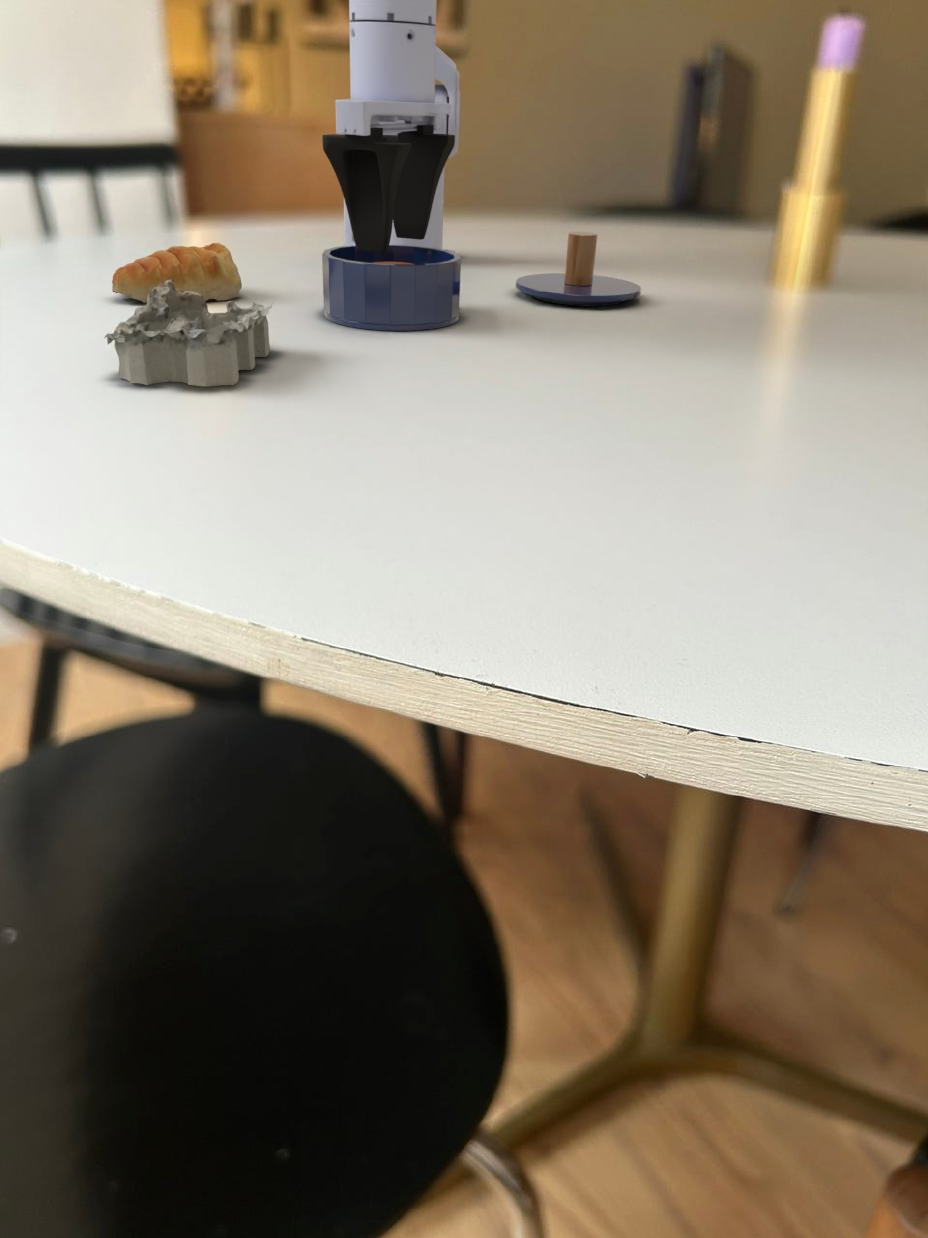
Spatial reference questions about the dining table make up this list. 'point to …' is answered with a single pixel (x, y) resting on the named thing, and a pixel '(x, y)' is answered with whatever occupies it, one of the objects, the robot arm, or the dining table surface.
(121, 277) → the pastry
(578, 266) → the lid
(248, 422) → the dining table surface
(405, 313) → the pot
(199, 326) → the egg carton
